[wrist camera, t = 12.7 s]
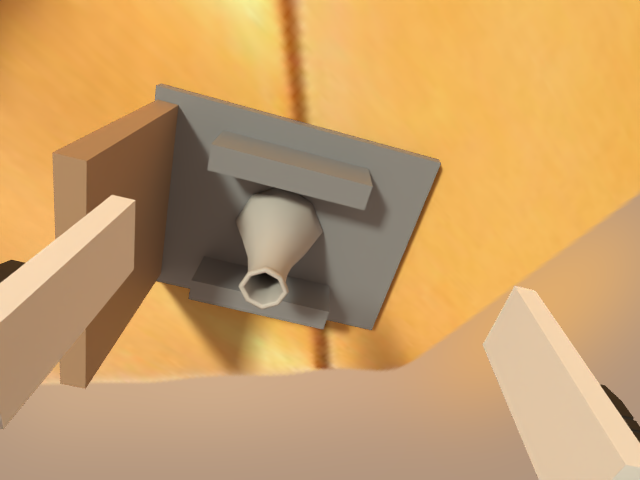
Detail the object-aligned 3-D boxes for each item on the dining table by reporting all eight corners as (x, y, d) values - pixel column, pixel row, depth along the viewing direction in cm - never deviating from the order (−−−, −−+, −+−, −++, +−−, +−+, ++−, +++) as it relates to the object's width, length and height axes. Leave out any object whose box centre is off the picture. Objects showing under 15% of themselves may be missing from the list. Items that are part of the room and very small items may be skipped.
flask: (337, 232, 38) (338, 299, 29) (274, 273, 40) (258, 347, 31) (285, 169, 35) (269, 222, 26) (221, 216, 37) (187, 280, 29)
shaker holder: (438, 159, 36) (500, 247, 22) (370, 323, 44) (387, 458, 31) (160, 83, 33) (47, 131, 20) (145, 271, 42) (57, 393, 28)
